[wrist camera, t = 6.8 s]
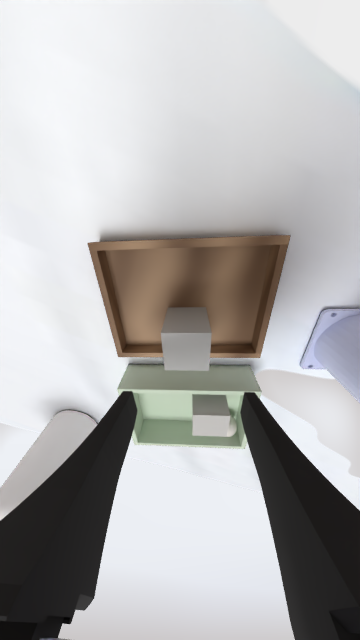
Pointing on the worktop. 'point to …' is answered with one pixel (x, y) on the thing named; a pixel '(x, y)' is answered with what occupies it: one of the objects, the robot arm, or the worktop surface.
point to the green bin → (184, 402)
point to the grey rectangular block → (210, 415)
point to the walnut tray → (190, 289)
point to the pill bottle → (45, 457)
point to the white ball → (232, 426)
